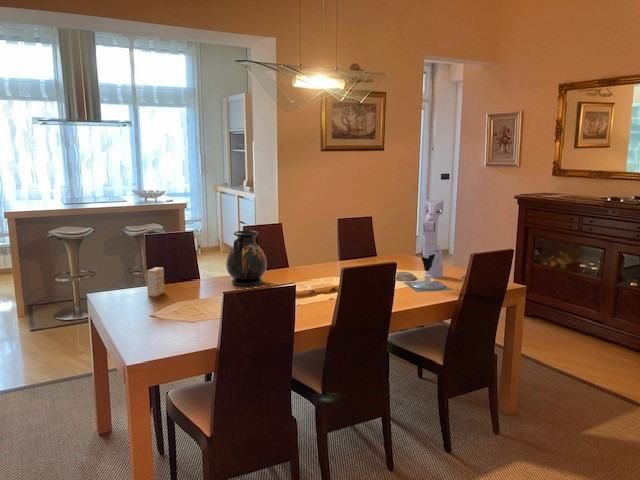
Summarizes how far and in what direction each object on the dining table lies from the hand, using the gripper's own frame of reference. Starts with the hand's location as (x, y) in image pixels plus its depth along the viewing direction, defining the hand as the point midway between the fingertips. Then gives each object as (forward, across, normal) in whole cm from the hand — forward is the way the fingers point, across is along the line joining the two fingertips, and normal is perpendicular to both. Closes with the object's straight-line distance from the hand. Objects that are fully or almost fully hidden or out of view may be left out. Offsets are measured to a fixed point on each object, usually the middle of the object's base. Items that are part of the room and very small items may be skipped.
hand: (428, 269), depth 268 cm
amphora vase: (+10, -27, +92) cm, 96 cm away
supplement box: (+10, -63, +123) cm, 139 cm away
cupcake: (+10, +6, -21) cm, 24 cm away
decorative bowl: (+10, +13, +15) cm, 22 cm away
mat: (+9, 0, 0) cm, 9 cm away
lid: (+9, 0, 0) cm, 9 cm away
